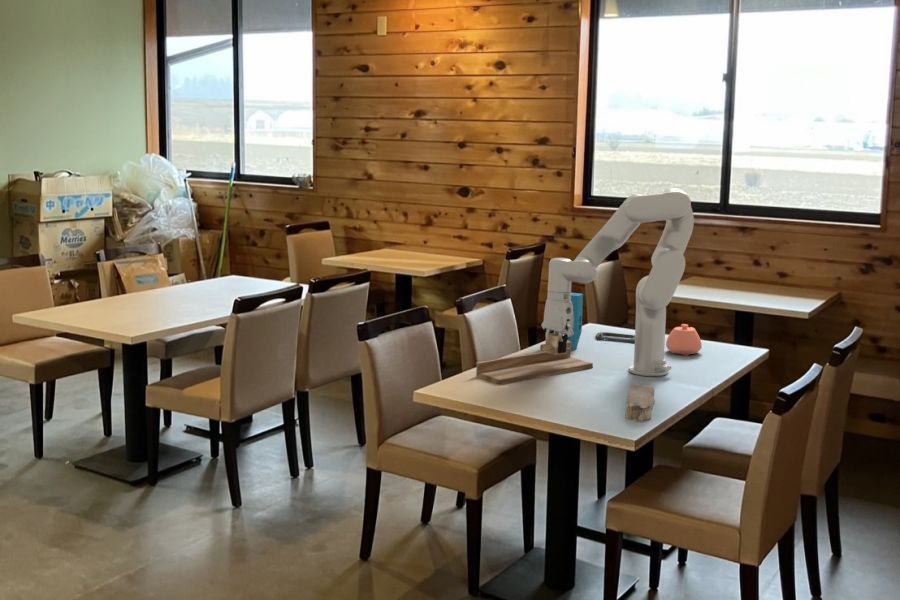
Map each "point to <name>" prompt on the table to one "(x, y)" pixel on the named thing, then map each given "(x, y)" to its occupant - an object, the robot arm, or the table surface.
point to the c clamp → (615, 337)
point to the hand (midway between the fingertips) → (556, 350)
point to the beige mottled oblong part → (640, 402)
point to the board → (529, 367)
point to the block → (576, 319)
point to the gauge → (553, 344)
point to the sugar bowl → (684, 340)
